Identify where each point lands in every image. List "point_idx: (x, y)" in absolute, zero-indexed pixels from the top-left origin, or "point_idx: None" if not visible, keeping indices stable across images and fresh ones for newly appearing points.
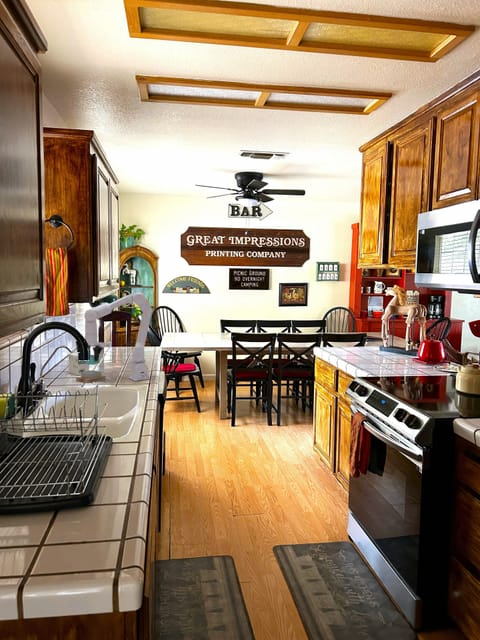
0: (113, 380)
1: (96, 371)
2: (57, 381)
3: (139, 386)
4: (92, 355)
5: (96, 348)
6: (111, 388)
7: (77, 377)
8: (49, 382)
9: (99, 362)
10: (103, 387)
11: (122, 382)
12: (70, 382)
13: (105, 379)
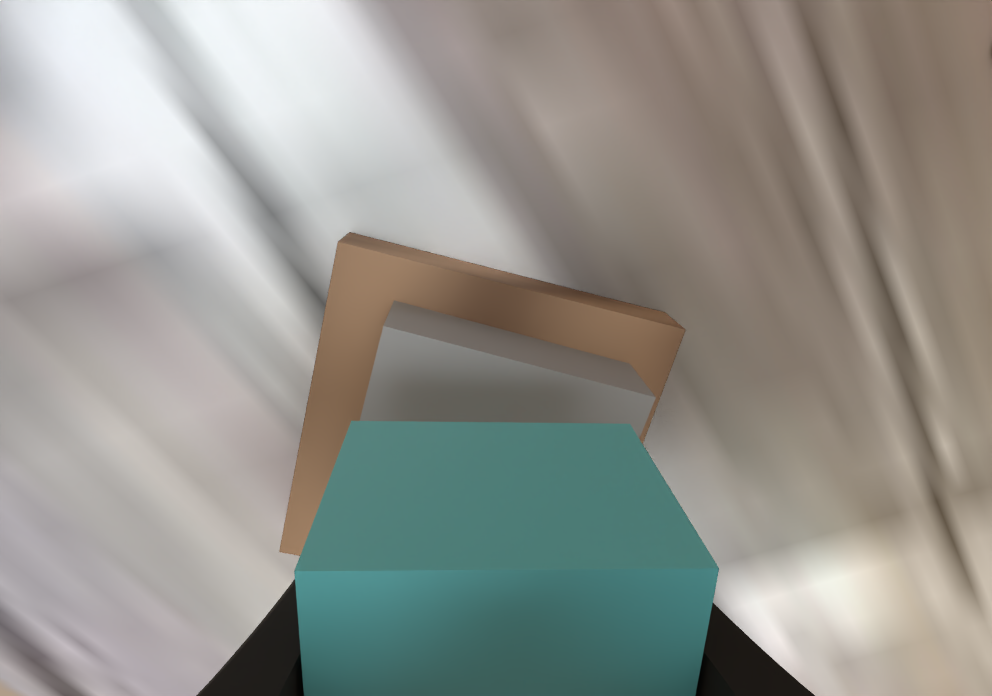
0: (801, 305)
1: (549, 412)
2: (52, 600)
3: None
4: (475, 683)
5: None
6: (942, 678)
7: (290, 534)
8: (7, 672)
9: (633, 432)
10: (834, 670)
11: (980, 382)
12: (274, 593)
13: (667, 315)
